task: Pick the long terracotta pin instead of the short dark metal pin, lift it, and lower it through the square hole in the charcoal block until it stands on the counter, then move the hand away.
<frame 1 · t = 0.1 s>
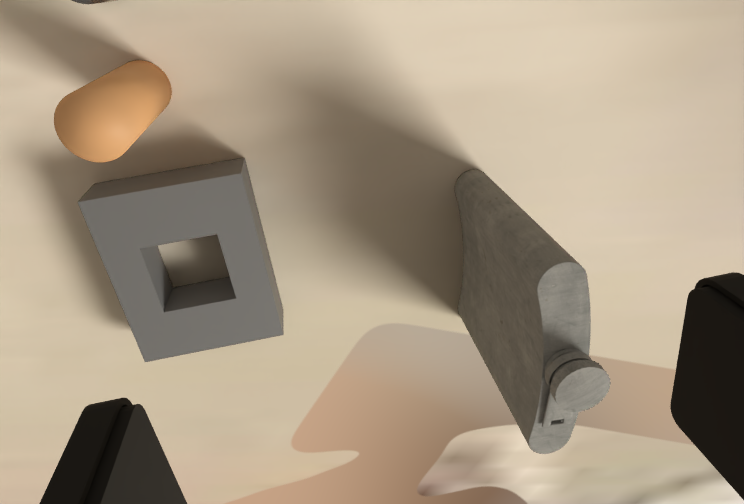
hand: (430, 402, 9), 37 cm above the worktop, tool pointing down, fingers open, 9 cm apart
long pin: (143, 88, 40), on the worktop
hole block: (196, 252, 47), on the worktop
hip flask: (476, 248, 51), on the worktop
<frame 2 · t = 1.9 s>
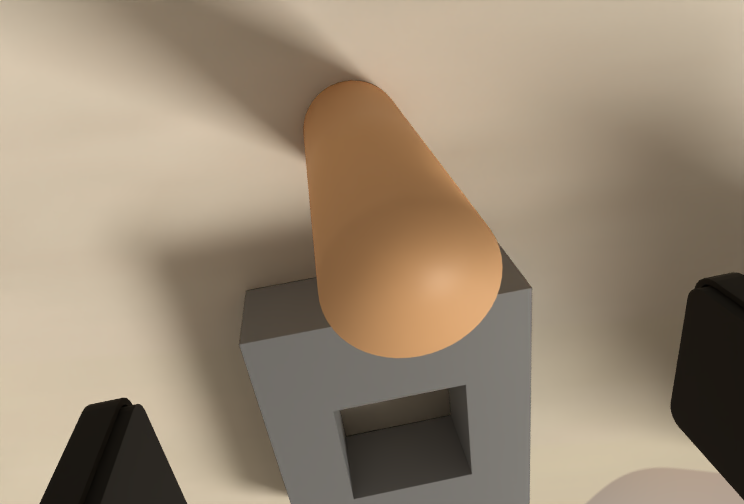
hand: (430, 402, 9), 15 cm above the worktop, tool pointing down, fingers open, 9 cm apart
long pin: (352, 131, 22), on the worktop
hole block: (392, 386, 29), on the worktop
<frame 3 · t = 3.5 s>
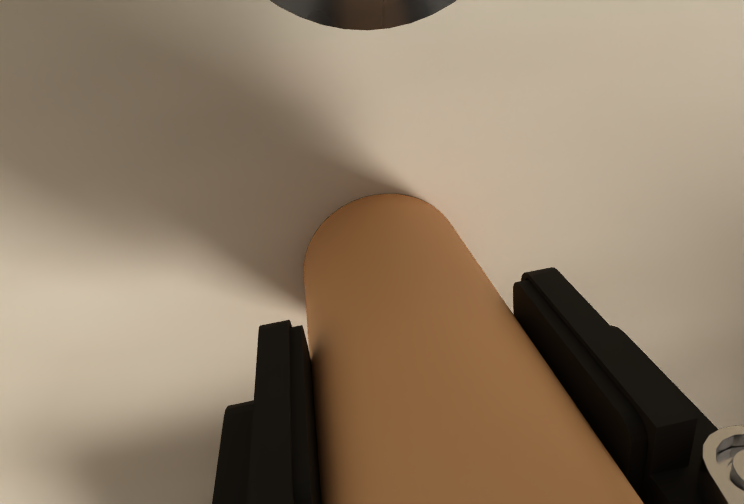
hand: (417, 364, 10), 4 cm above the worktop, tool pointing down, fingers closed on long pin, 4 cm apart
long pin: (383, 268, 13), on the worktop, touching gripper
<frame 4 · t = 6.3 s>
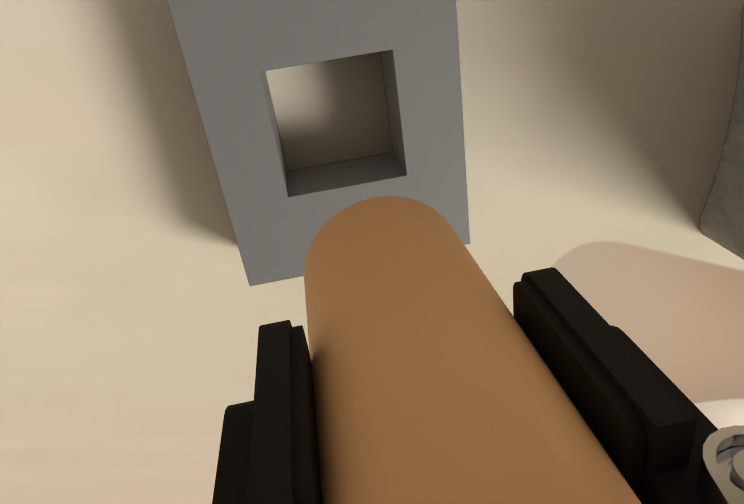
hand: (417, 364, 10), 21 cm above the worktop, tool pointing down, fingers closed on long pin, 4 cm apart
long pin: (384, 270, 13), point 17 cm above the worktop, touching gripper
hole block: (331, 108, 29), on the worktop
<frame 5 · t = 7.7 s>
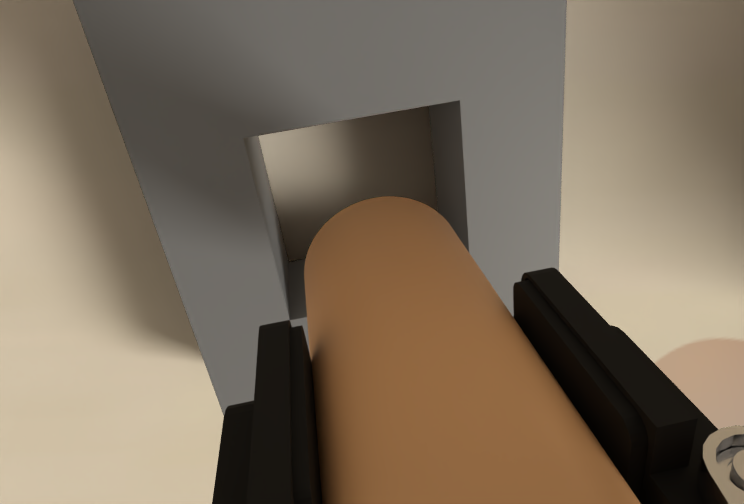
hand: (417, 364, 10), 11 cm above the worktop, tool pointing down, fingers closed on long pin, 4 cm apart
long pin: (384, 271, 13), point 7 cm above the worktop, touching gripper
hole block: (353, 175, 20), on the worktop
when the fingers open (5 cm above the worktop, at t = 9.1 s): long pin drops 1 cm, resting in hole block.
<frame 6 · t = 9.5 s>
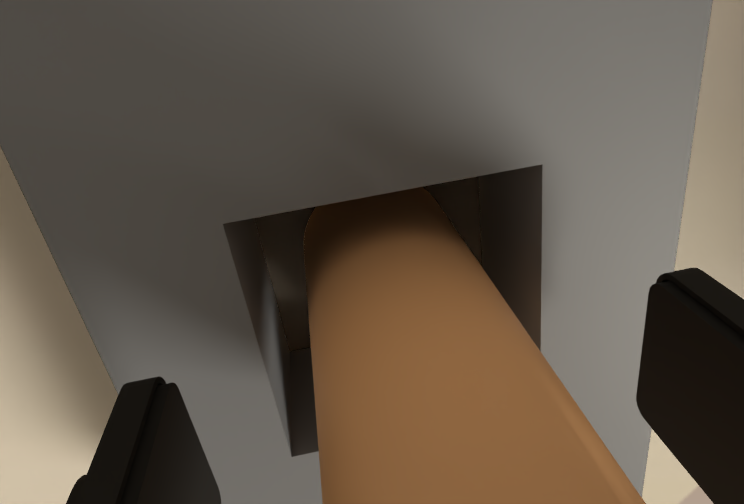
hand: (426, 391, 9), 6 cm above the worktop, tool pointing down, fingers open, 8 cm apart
long pin: (376, 243, 15), resting in hole block
hole block: (374, 243, 15), on the worktop
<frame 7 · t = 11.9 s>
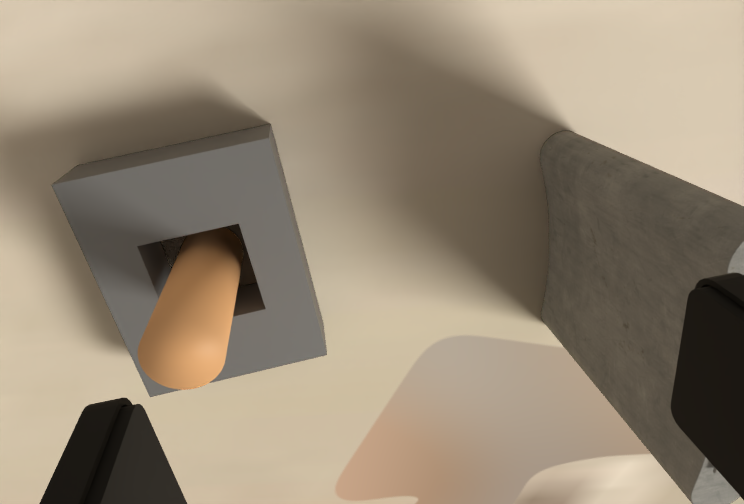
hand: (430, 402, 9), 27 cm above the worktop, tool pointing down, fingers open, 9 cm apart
long pin: (213, 252, 36), resting in hole block
hole block: (212, 252, 36), on the worktop
hip flask: (565, 235, 40), on the worktop
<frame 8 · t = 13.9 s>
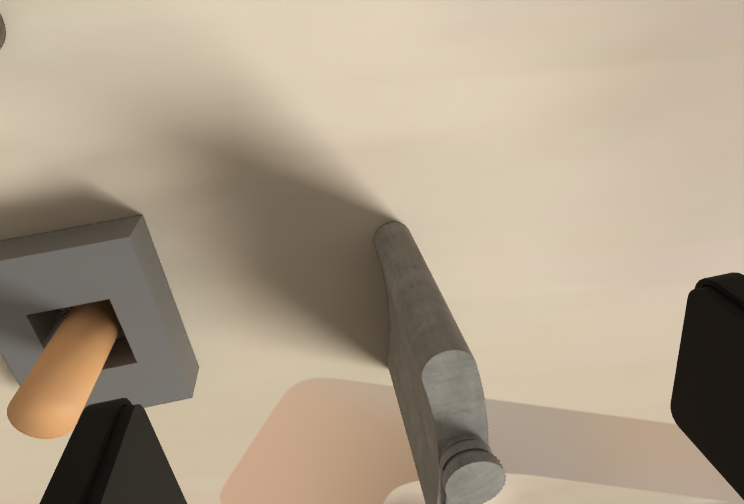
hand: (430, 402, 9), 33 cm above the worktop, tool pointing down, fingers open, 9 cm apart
long pin: (100, 311, 44), resting in hole block
hole block: (99, 311, 44), on the worktop
hip flask: (402, 300, 48), on the worktop
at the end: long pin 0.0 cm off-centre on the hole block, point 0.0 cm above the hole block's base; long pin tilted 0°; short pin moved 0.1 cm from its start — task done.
